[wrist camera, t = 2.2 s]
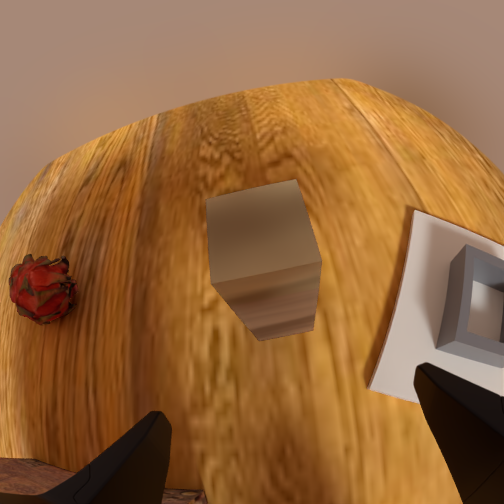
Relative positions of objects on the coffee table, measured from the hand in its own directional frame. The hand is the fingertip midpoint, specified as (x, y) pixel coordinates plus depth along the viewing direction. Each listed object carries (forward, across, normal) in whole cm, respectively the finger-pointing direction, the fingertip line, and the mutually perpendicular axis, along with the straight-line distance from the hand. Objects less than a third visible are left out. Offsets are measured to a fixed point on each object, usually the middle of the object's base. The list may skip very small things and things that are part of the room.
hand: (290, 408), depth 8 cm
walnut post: (+15, 0, +4) cm, 16 cm away
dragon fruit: (+19, +27, +1) cm, 33 cm away
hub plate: (+11, -18, +8) cm, 23 cm away
